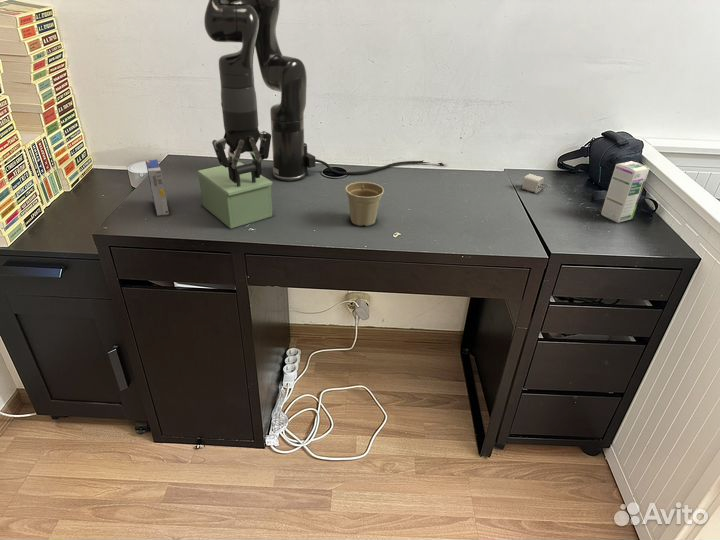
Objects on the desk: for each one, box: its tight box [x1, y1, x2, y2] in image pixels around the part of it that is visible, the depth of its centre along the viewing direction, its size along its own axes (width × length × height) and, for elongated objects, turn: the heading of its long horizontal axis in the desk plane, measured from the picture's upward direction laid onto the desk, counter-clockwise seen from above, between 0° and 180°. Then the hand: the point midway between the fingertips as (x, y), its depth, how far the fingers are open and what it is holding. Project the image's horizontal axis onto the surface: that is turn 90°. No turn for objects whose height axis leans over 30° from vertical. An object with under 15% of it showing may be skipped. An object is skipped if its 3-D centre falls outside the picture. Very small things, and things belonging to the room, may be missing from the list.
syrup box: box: [600, 160, 651, 224], centre depth 130 cm, size 6×6×14 cm
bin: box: [197, 173, 273, 229], centre depth 126 cm, size 16×12×9 cm
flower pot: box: [344, 181, 385, 227], centre depth 124 cm, size 9×9×9 cm
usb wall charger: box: [521, 173, 551, 194], centre depth 146 cm, size 4×7×4 cm, turn 49°
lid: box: [197, 161, 273, 196], centre depth 122 cm, size 16×12×6 cm
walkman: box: [145, 159, 170, 216], centre depth 125 cm, size 8×3×12 cm, turn 25°
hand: (246, 179), depth 119 cm, fingers closed on lid, 5 cm apart
